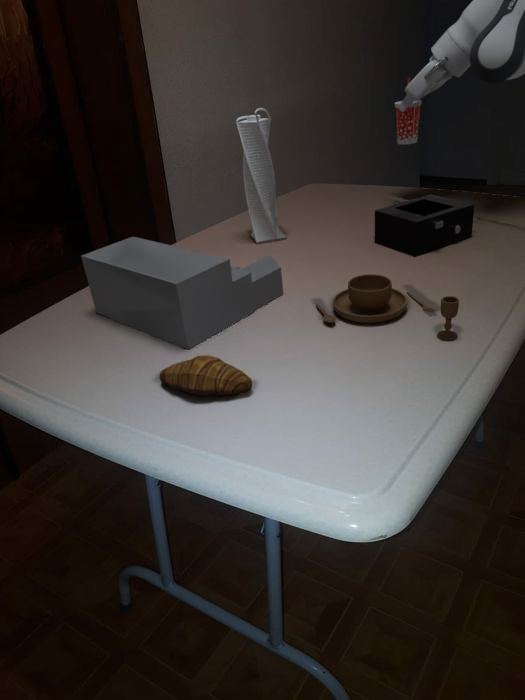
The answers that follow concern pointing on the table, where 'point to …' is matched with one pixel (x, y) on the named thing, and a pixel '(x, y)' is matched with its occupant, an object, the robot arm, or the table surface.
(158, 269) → the grey stepped block
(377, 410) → the table surface
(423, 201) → the black open top box
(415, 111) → the beverage cup
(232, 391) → the croissant
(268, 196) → the skyscraper
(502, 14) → the robot arm
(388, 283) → the place setting
